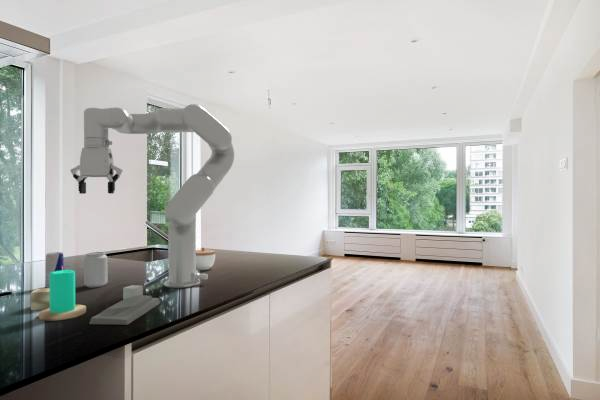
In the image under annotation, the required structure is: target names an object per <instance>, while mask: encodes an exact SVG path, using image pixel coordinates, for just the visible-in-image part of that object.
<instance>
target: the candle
mask: <svg viewBox="0 0 600 400" xmlns="http://www.w3.org/2000/svg"><path fill="white" fill-rule="evenodd" d="M63 266H64V265H63ZM63 266H62V270H60V271H55V272H52V273H49V285H50V312H51V313H63V312H69V311H72V310H74V309H75V304H76V271H75V270H72V269H64V270H63Z"/></svg>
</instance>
